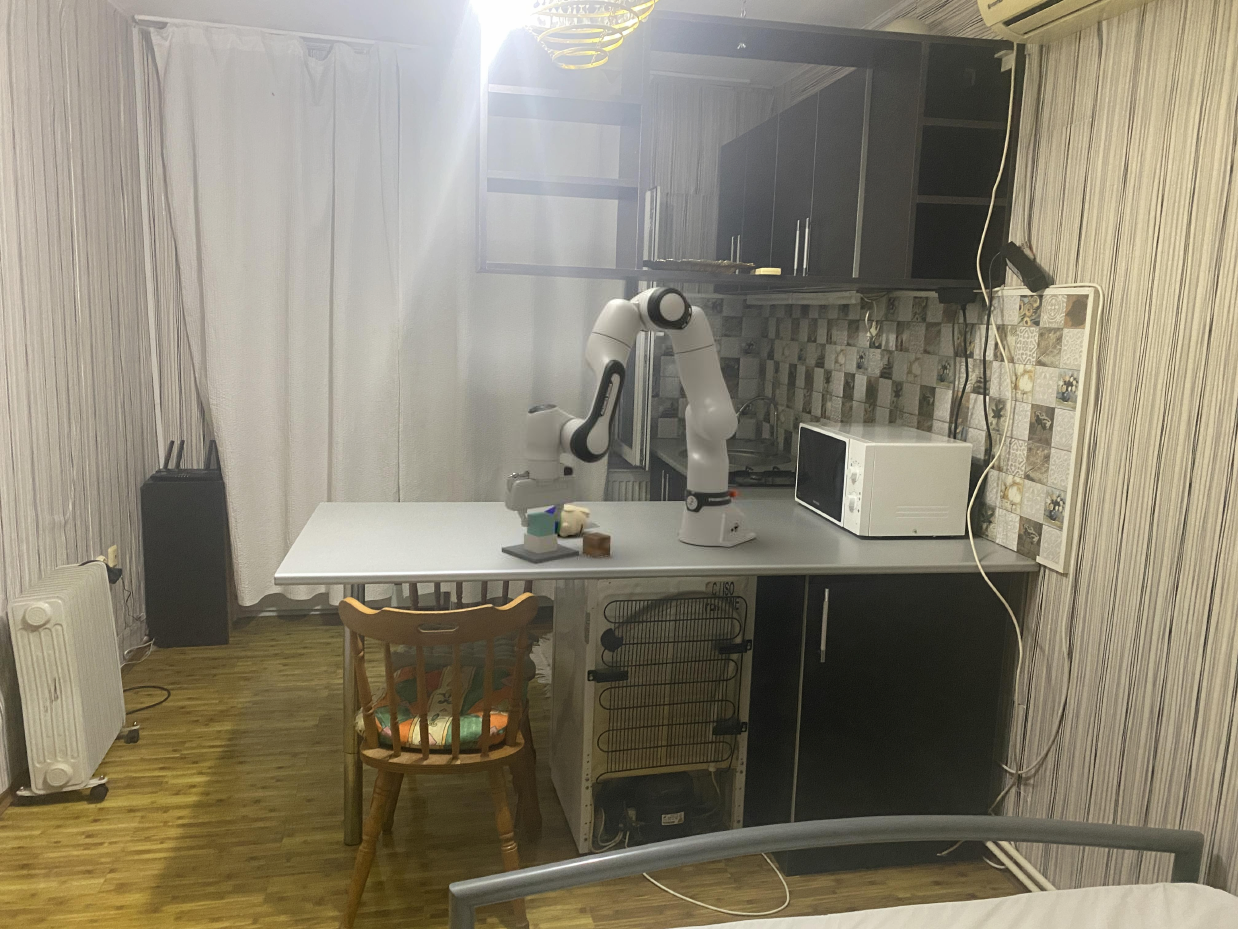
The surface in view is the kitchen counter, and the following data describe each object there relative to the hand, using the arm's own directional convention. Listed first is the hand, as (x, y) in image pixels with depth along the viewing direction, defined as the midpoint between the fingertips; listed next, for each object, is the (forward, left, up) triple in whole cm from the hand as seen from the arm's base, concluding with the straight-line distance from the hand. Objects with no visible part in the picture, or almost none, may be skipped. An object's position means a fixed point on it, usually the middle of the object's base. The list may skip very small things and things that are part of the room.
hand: (540, 523), depth 232 cm
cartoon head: (-17, -12, -8) cm, 22 cm away
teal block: (0, 0, -3) cm, 3 cm away
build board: (0, 0, -8) cm, 8 cm away
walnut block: (-11, +9, -8) cm, 16 cm away
